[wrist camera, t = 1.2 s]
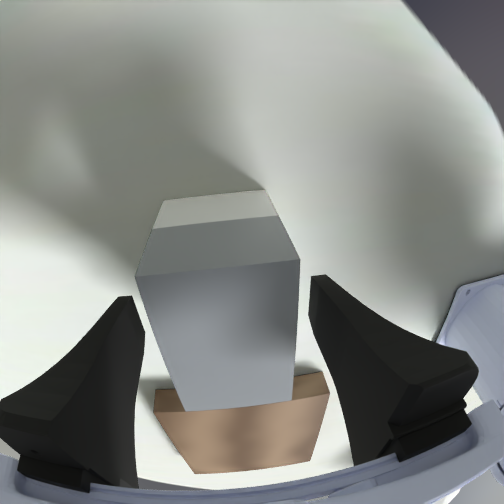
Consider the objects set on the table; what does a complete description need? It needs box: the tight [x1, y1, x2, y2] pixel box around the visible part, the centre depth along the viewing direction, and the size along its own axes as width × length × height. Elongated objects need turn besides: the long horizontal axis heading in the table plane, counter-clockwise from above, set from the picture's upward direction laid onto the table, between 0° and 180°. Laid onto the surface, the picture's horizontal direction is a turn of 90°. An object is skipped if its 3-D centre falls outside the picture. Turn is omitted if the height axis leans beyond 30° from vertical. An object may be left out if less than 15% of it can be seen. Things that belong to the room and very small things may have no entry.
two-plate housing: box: [135, 190, 300, 411], centre depth 12 cm, size 4×7×6 cm, turn 3°
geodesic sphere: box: [432, 488, 460, 504], centre depth 29 cm, size 15×14×14 cm
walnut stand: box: [153, 372, 330, 474], centre depth 22 cm, size 12×14×2 cm
